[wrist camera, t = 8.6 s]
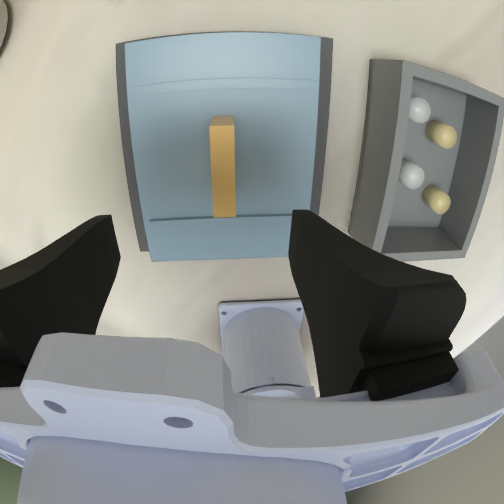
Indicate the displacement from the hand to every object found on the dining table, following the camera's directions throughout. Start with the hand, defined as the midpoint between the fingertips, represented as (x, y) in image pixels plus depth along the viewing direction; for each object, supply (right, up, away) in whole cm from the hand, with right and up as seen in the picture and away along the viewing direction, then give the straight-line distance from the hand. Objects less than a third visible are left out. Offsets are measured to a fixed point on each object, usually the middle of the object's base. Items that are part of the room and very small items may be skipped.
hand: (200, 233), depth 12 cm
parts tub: (+15, +7, +9) cm, 19 cm away
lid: (0, +6, +8) cm, 10 cm away
